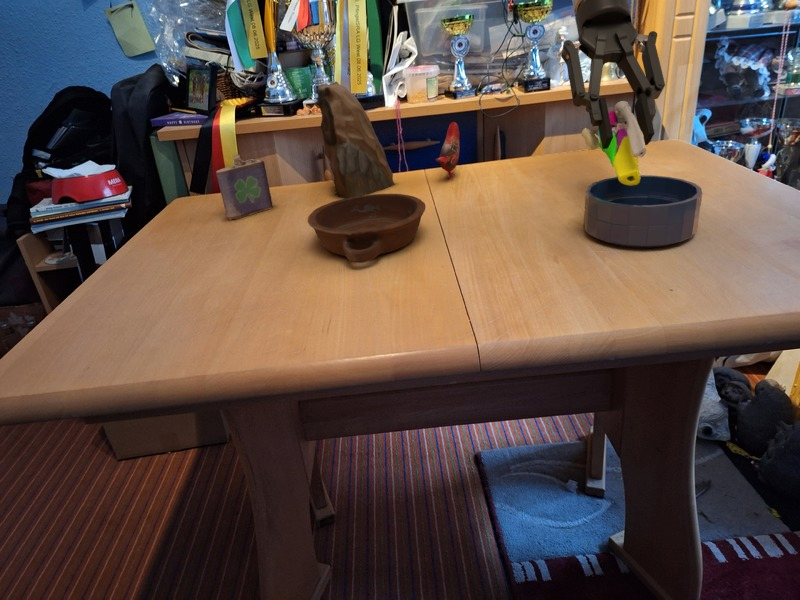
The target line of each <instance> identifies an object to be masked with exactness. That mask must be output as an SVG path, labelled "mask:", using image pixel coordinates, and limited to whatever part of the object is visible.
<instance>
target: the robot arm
mask: <svg viewBox="0 0 800 600" xmlns="http://www.w3.org/2000/svg"><path fill="white" fill-rule="evenodd" d="M571 1H572V6H573V12H574V17H575V23H576V29H577V36H578V39H577V40H574V41H572V40H570V39H567V40H565V41H564V42H563V45H562V49H561V53H560V57H561V59H562V60H563V62H564V64H565V65H566V68H567V74H568V75H567V76H568V80H569V87H570V91H571V97H572V98H571V99H572V102H573V106H575V107H581V106H583V107H585V111H586V112H587V113H588V114H589V120H590V124H591V127H592V126H598V127H599V132H600V138H601V143H602V148H603V149H607V148H608V147H609V145H610V143H611V141H612V139H613V133H612V128H611V123H610V118H609V113H608V108H609V107H608V103H607V99H606V97H605V96H604V97H600V92H601V83H602V73H603V65H605V64H608V63H614V64H615V65H616V66H617V68H618V69H619V70H621V71H622V73H623V75H624V77H625V79H626V81H627V82H628V84H629V86H630V88H631V90H632V92H633V93H634V95H635V97H636V101H635V103H634V105H633V108H634V112H635V118H636V121H637V122H638V125H639V127H640V130H641V131H642V133H643V135H644V142H645V146H648V145H649V144H650V142H651V140H652V139H653V137H654V135H655V129H654V124H653V120H654V118H655V116H656V113H657V109H656V106H655V105H656V104H655V100H657V99H659V97H660V96H661V94H662V92H663V90H664V88H665V86H666V83H665V82H666V81H665V77H664V74H663V69H662V65H661V62H660V57H659V53H658V49H657V45H656V43H657V39H658V33H657V32H656V31H654V30H652V31H649V33H648V34H643V33H642V34H641V33H638V30H637V29H636V28H635V27H634V25H633V21H632V14H631V9H630V6H629V1H628V0H571ZM634 45H637V48H638V52H639V53H641V62H642V66H643V68H642V67H641V65H640V63H639V61H638V59H637V58H636V56H635V50H634V48H633V46H634ZM580 52H582V53H583V54H584V55H585V56H586V57H588V58H589V59H590V65H589V66H590V67H589V71H590V72H589V79H588V89H587V91H586V87H585V82H584V75H583V71H582V64H581V59H580V55H579V54H580ZM607 107H608V108H607ZM600 138H599V139H600Z"/></svg>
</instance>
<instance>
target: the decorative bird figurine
mask: <svg viewBox="0 0 800 600" xmlns="http://www.w3.org/2000/svg"><path fill="white" fill-rule="evenodd" d="M459 157H460V128H459V125H458V123H457V122H456V121H452V122H450V123H449V126H448V127H447V130H446V136H445V139H444V142H443V144H442V147H441V150H440V153H439V157H438V158H435V162H437V163H439V165H440V168H441V169H442V170H444V171H445V172H447V173H448V180H450V179H451V178H452V177H454V175H455V171H453V170H455V168H456V166H457V164H458V162H459Z"/></svg>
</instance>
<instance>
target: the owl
mask: <svg viewBox="0 0 800 600" xmlns="http://www.w3.org/2000/svg"><path fill="white" fill-rule="evenodd" d="M315 93H316V94H317V100H316V101H315V102H316V104H317V106H318V107H319V110H320V113H321V122H320V131H321V133H322V137H323V146H324V148H323V149H324V155H325V156H326V158H327V159H328V161H329V165H330V166H329V167H330V170H331V173H332V176H333V185H334V189H335V190H334V192H335V193H334V196H337V197H339V198H343V199H346V198H352V197H358V196H365V195H371V193H374V192H377V191H381V190H384V189H387V188H389V187H392V186H395V182H394V180H393V178H394V174H393V172H392V170H391V168H390V165H389V163H388V160H387V157H386V152H385V150H384V147H383V145H382V144H381V142H380V140H379V138H378V136H377V135H376V132H375V129H374V128H373V124H372V122H371V120H370V117H369V116H368V114H367V113H366V111H365V109H364V107H363V105H362V104H361V102H360V101H359V100H358V98H357V97H356V96H355V95H354V94H353V92H351V91H350V90H349V89H348V88H346V86H344V85H342V84H340V83H339V82H338V81H334V82H333V83H330V84H328V83H322V84H320V85H319V86H318V87H317V88H316V91H315Z"/></svg>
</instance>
